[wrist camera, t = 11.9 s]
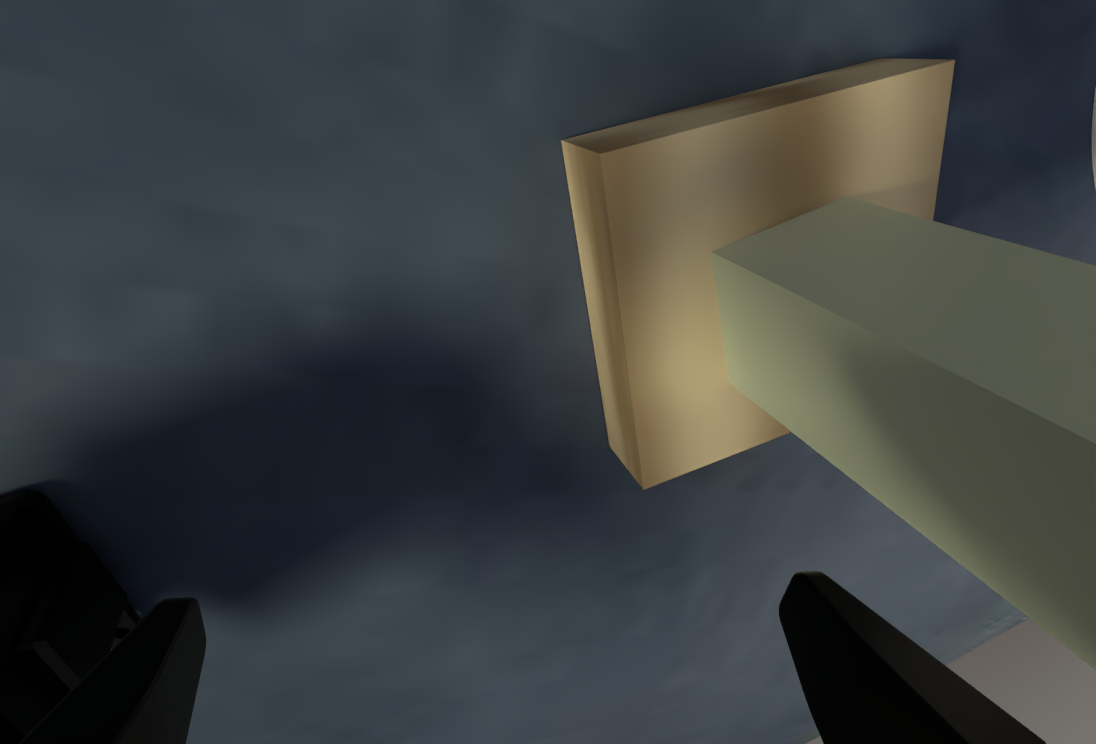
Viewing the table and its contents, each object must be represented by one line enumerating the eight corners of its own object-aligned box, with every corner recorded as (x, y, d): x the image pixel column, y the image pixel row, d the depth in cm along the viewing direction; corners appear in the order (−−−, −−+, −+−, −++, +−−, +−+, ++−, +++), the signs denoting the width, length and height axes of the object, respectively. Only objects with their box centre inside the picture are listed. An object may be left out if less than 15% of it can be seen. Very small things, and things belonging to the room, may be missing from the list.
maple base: (609, 446, 26) (643, 489, 23) (561, 139, 20) (600, 154, 17) (855, 355, 28) (910, 385, 26) (880, 58, 22) (955, 59, 20)
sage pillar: (728, 382, 22) (1144, 708, 11) (711, 251, 20) (1229, 510, 9) (847, 329, 23) (1342, 584, 12) (846, 196, 20) (1476, 370, 9)
